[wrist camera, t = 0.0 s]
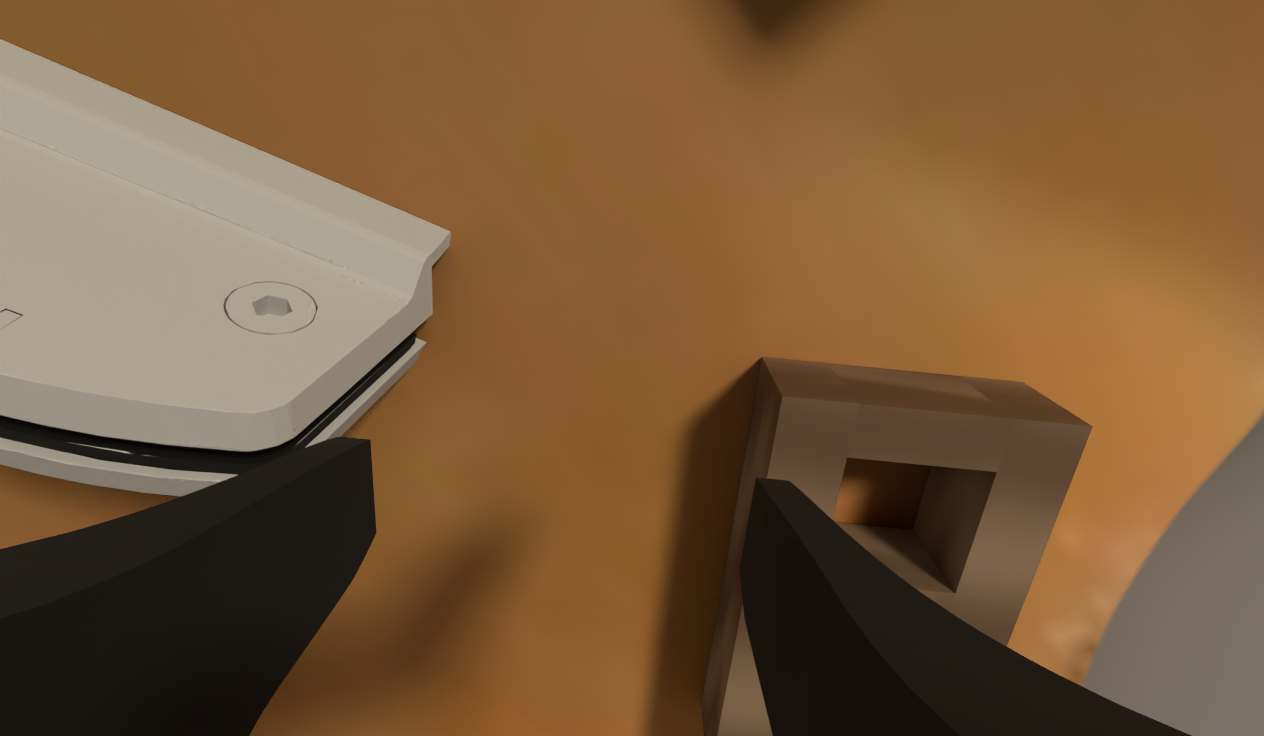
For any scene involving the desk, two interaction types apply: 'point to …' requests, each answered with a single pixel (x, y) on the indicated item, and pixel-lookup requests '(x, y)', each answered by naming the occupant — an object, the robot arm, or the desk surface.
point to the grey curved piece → (184, 291)
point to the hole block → (948, 512)
